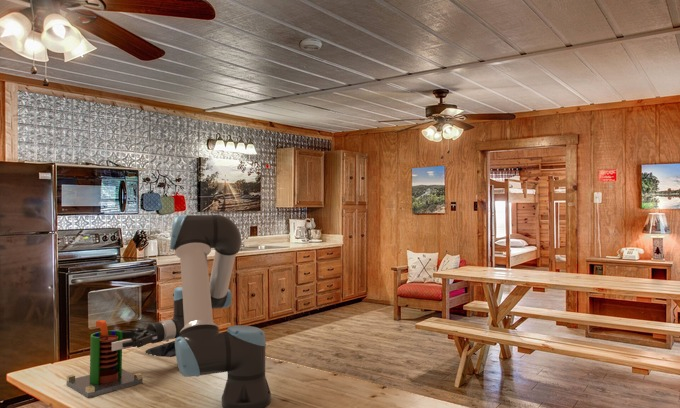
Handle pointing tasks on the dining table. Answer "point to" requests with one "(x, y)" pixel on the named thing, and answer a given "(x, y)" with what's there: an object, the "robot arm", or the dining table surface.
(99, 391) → the plate
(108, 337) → the motor
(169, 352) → the dark slate chunk
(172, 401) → the dining table surface
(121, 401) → the dining table surface
